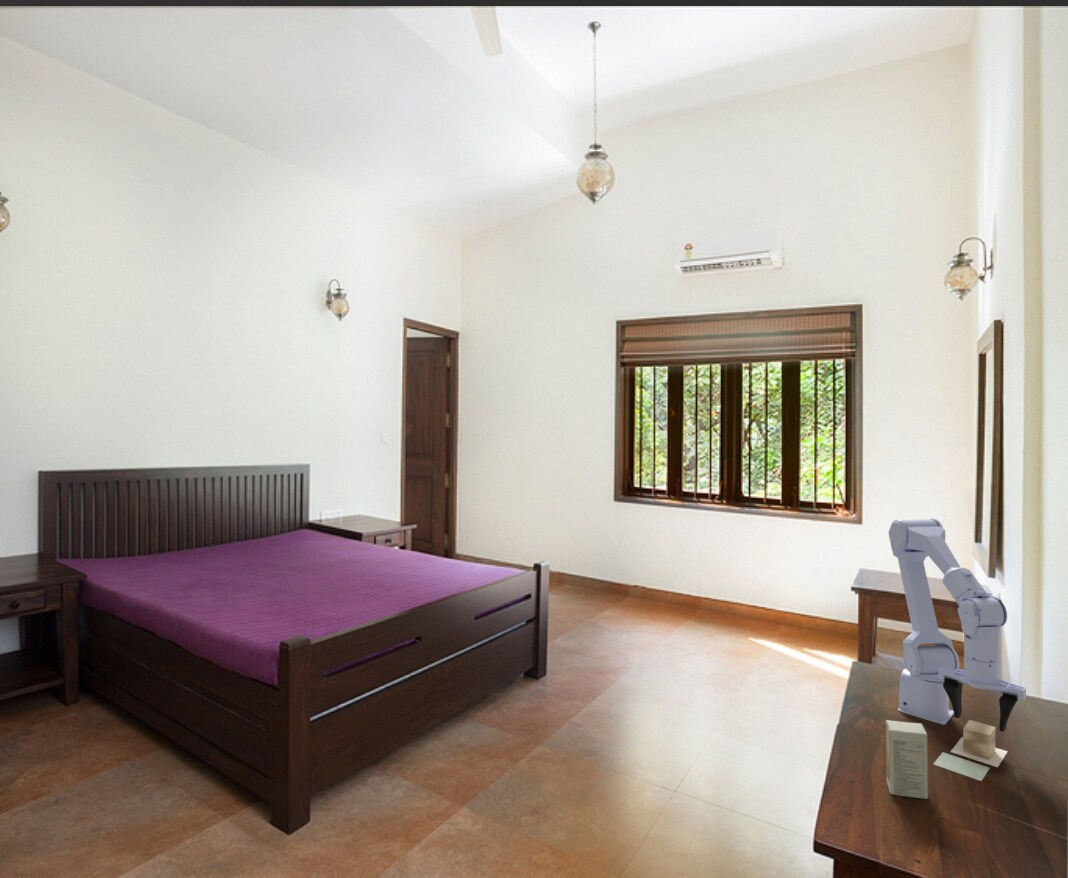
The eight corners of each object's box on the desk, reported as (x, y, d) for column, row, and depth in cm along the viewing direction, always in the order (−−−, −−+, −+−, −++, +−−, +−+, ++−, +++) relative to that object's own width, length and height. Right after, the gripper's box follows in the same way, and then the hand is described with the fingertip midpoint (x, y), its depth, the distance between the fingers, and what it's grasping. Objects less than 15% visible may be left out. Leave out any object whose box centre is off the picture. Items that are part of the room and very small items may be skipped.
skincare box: (922, 786, 122) (924, 723, 122) (928, 800, 118) (929, 734, 118) (884, 781, 125) (885, 718, 124) (888, 794, 120) (889, 729, 120)
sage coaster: (933, 765, 129) (933, 764, 129) (942, 753, 133) (942, 752, 133) (981, 782, 123) (981, 780, 123) (989, 769, 128) (989, 767, 128)
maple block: (962, 751, 134) (963, 727, 133) (969, 743, 137) (969, 719, 136) (989, 760, 130) (989, 735, 130) (995, 751, 133) (995, 727, 133)
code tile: (950, 752, 134) (950, 751, 134) (961, 737, 139) (961, 736, 139) (997, 768, 128) (997, 767, 128) (1007, 752, 133) (1007, 751, 133)
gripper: (934, 652, 135) (933, 717, 136) (1020, 673, 124) (1019, 743, 125) (944, 643, 140) (943, 706, 140) (1029, 662, 129) (1027, 729, 130)
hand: (979, 722), depth 133 cm, fingers open, 7 cm apart
